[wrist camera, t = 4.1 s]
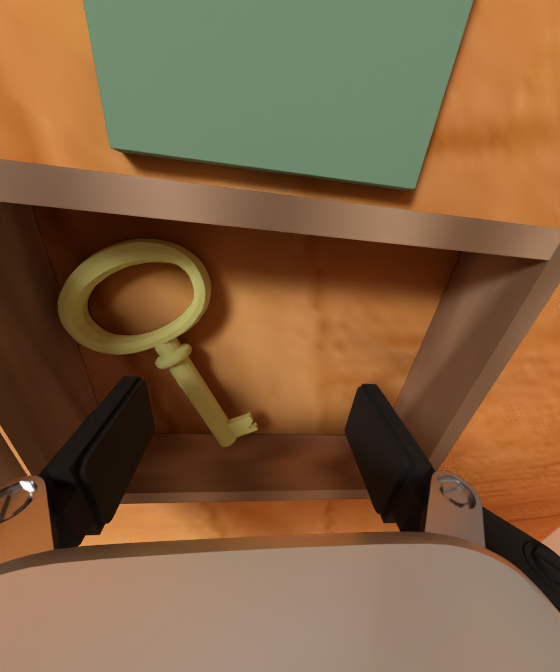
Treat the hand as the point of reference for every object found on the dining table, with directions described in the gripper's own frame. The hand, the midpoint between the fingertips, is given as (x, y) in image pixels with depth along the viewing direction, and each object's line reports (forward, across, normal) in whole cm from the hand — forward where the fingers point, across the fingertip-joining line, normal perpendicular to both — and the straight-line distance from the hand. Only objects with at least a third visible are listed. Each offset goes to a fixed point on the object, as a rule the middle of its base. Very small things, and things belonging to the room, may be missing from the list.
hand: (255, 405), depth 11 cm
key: (+4, -1, 0) cm, 4 cm away
